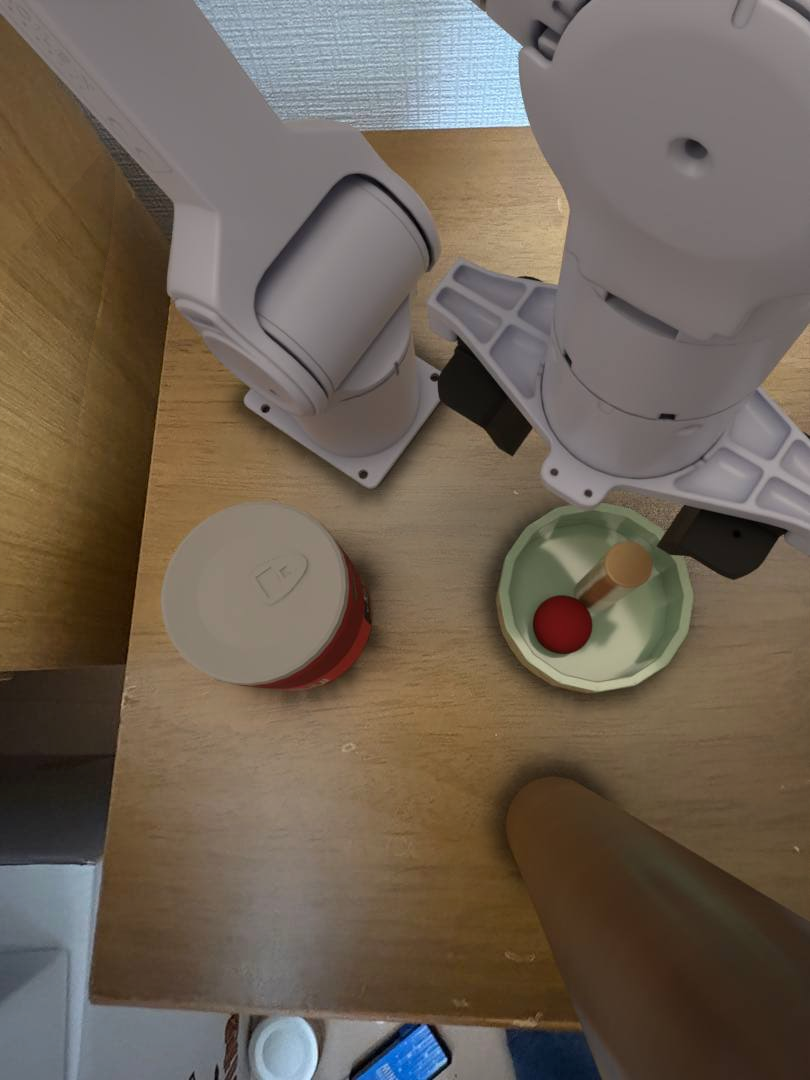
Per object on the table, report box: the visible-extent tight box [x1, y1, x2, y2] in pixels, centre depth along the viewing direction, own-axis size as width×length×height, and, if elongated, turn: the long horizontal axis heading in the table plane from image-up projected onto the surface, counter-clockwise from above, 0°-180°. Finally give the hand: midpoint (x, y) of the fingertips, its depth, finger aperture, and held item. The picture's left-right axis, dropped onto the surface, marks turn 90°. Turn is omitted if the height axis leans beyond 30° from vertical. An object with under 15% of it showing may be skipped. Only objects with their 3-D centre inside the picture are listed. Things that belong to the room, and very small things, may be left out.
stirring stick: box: [574, 541, 653, 613], centre depth 38 cm, size 2×2×9 cm
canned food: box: [160, 500, 373, 692], centre depth 38 cm, size 8×8×11 cm
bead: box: [533, 595, 592, 654], centre depth 40 cm, size 3×3×3 cm
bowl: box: [495, 502, 695, 694], centre depth 41 cm, size 9×9×4 cm
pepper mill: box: [505, 775, 810, 1080], centre depth 21 cm, size 5×5×40 cm
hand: (595, 481), depth 33 cm, fingers open, 7 cm apart
